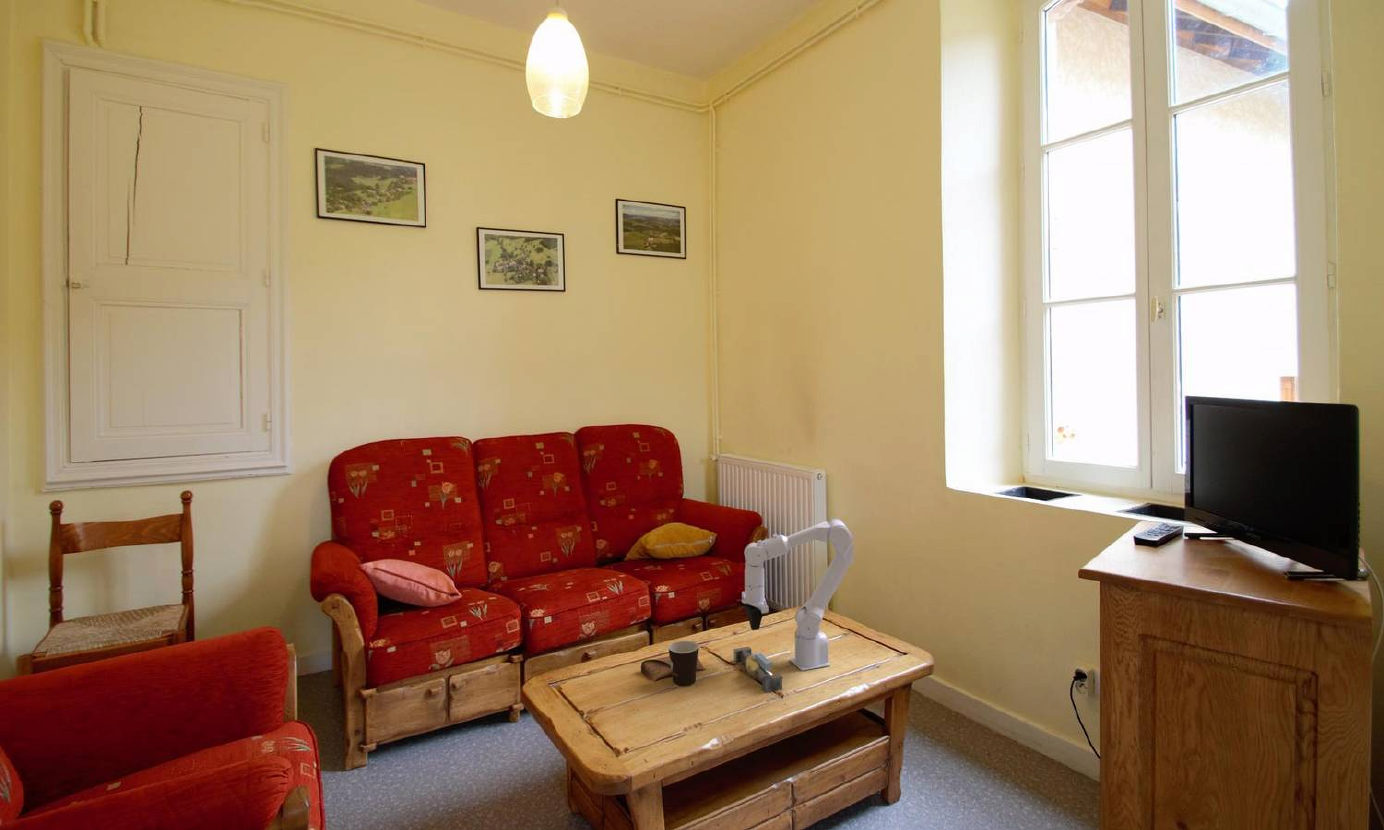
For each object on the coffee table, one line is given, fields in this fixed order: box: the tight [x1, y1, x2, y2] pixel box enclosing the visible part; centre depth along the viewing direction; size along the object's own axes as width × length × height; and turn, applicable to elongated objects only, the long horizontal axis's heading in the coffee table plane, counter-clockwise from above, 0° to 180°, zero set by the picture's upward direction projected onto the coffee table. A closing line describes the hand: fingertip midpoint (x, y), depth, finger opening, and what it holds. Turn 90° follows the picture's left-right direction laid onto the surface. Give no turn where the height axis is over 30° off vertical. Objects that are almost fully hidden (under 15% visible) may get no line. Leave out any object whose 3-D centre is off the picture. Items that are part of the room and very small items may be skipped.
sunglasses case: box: [640, 655, 707, 683], centre depth 197 cm, size 18×7×7 cm, turn 117°
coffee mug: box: [667, 640, 700, 688], centre depth 191 cm, size 12×9×10 cm
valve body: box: [733, 646, 783, 694], centre depth 193 cm, size 22×6×4 cm, turn 20°
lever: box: [751, 652, 773, 671], centre depth 190 cm, size 10×3×2 cm, turn 19°
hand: (755, 629), depth 200 cm, fingers closed
